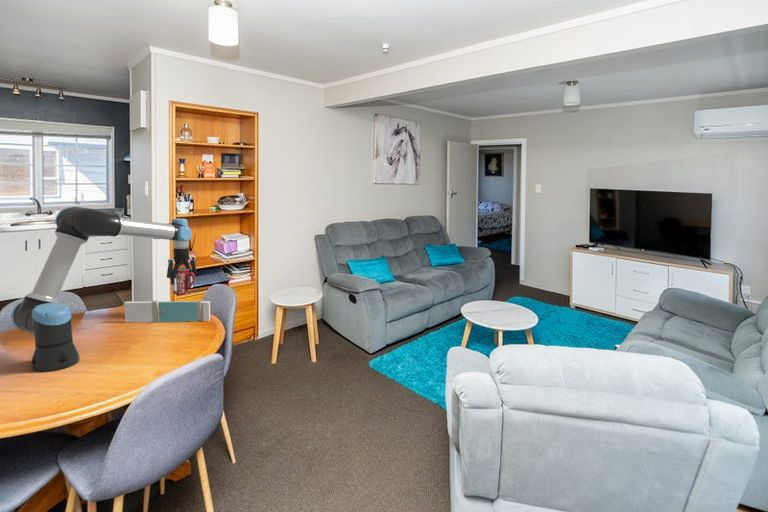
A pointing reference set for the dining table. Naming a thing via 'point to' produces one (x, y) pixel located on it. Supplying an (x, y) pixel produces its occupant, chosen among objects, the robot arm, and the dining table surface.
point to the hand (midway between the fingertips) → (182, 288)
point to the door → (178, 311)
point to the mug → (183, 281)
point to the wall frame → (150, 311)
